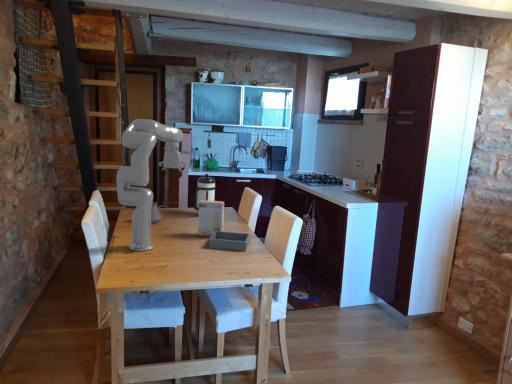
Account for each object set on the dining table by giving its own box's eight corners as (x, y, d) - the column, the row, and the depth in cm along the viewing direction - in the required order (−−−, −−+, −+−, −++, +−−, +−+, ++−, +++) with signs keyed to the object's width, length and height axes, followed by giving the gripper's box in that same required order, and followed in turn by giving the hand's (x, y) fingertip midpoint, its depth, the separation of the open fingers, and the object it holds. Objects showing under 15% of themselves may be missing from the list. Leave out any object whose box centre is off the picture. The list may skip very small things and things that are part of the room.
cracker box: (223, 235, 239) (224, 201, 235) (221, 238, 233) (222, 203, 229) (200, 233, 240) (201, 199, 236) (197, 236, 234) (199, 201, 231)
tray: (245, 251, 213) (246, 242, 212) (208, 247, 215) (209, 238, 214) (249, 242, 228) (249, 233, 227) (215, 239, 230) (215, 230, 229)
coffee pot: (141, 223, 253) (141, 200, 251) (145, 219, 265) (146, 197, 262) (174, 225, 254) (175, 202, 251) (178, 221, 265) (178, 199, 262)
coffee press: (192, 212, 290) (193, 171, 285) (214, 212, 293) (216, 172, 288) (193, 218, 273) (194, 175, 268) (216, 218, 276) (218, 176, 271)
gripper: (157, 149, 240) (156, 177, 243) (185, 150, 240) (184, 178, 243) (160, 148, 248) (159, 175, 251) (188, 149, 247) (187, 177, 250)
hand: (172, 177), depth 247 cm, fingers open, 9 cm apart
